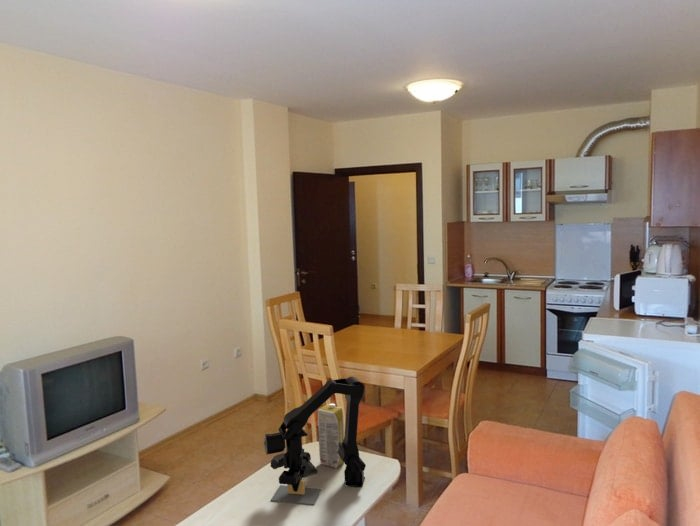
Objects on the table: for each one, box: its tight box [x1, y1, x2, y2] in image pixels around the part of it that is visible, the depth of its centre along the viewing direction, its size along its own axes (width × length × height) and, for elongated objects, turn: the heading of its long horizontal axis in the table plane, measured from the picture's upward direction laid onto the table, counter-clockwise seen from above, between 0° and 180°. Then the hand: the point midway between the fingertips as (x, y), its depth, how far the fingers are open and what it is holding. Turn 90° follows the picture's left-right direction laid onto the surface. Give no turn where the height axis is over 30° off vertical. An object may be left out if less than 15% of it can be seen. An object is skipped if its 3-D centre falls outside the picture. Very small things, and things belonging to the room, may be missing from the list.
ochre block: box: [286, 478, 306, 495], centre depth 190 cm, size 6×2×5 cm, turn 78°
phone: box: [303, 459, 319, 478], centre depth 210 cm, size 8×1×15 cm
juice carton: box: [317, 403, 345, 469], centre depth 211 cm, size 9×8×24 cm
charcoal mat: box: [270, 484, 322, 506], centre depth 190 cm, size 16×10×1 cm, turn 78°
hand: (296, 490), depth 190 cm, fingers closed on ochre block, 1 cm apart
